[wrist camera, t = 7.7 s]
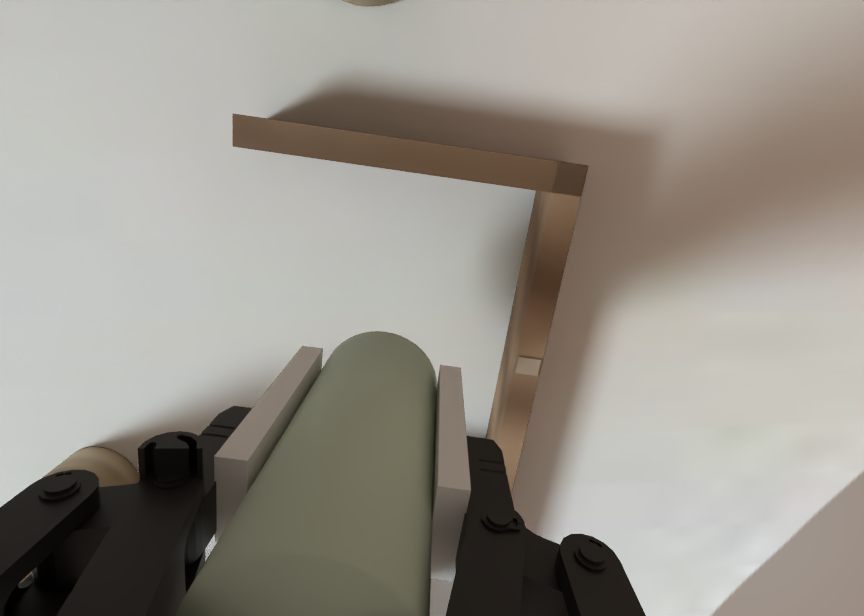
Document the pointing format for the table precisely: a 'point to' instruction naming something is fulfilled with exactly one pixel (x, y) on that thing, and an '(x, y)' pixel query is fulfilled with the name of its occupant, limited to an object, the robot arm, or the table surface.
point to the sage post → (337, 498)
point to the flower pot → (370, 2)
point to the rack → (541, 254)
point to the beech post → (100, 467)
